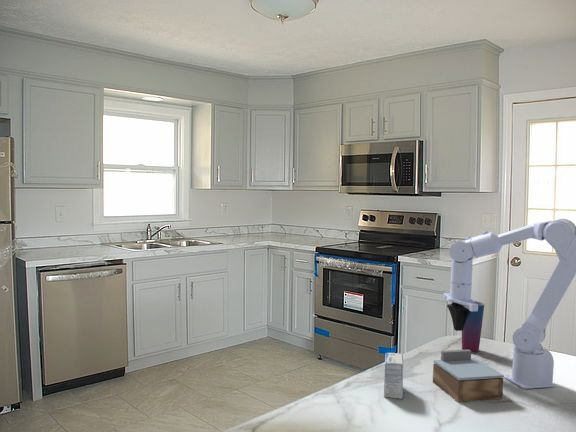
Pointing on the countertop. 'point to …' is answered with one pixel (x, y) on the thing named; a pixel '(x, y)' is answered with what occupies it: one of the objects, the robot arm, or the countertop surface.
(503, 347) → the countertop surface
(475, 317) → the cup
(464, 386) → the walnut box
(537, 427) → the countertop surface
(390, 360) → the medicine box
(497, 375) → the lid
